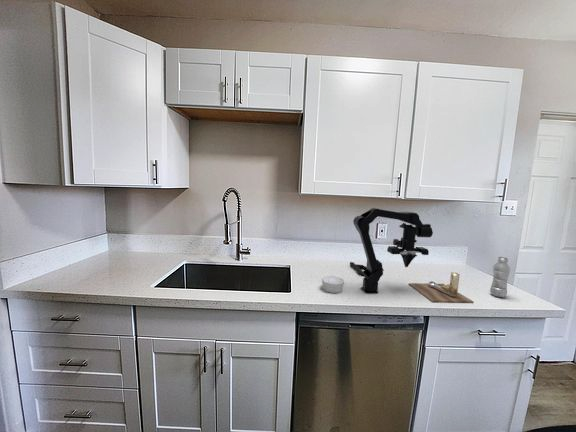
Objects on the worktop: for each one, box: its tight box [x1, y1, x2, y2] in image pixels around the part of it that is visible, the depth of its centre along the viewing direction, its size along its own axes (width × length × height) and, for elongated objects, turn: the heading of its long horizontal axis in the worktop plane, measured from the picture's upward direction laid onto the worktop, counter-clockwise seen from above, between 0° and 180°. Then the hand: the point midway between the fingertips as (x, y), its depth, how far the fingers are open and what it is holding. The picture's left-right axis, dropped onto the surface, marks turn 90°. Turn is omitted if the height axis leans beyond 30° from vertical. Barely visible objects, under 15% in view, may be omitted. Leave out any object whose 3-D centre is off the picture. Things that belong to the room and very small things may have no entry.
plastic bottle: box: [489, 256, 511, 299], centre depth 123 cm, size 6×7×20 cm
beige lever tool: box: [427, 271, 460, 296], centre depth 125 cm, size 16×4×11 cm, turn 15°
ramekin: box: [321, 275, 345, 294], centre depth 125 cm, size 11×11×5 cm
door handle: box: [349, 261, 367, 277], centre depth 156 cm, size 3×20×16 cm
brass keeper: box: [441, 284, 450, 290], centre depth 125 cm, size 7×3×3 cm, turn 117°
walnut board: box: [408, 282, 475, 304], centre depth 126 cm, size 20×21×1 cm
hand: (406, 266), depth 125 cm, fingers closed
